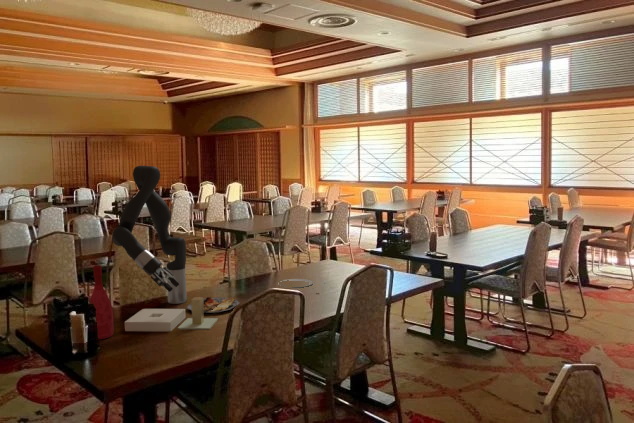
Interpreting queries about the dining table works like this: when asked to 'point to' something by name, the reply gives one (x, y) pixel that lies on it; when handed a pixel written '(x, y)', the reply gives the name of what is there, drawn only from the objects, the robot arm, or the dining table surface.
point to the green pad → (205, 325)
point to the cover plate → (155, 320)
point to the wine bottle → (102, 306)
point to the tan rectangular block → (197, 310)
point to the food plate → (221, 302)
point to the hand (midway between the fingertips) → (174, 287)
